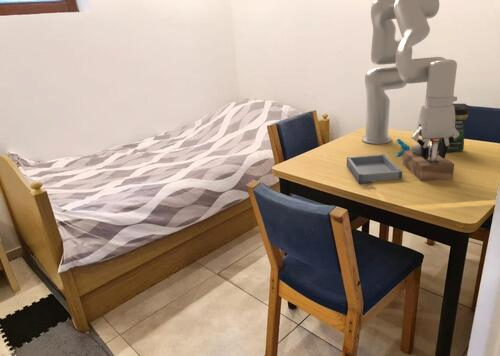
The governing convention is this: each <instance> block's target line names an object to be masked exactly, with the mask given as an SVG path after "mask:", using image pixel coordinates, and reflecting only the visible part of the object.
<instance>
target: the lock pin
mask: <svg viewBox="0 0 500 356" xmlns="http://www.w3.org/2000/svg"><path fill="white" fill-rule="evenodd" d="M439 141H440V138H434V139H430V140H429V142H430V144H429V146H430V152H429V163H437V154H438V153H439V151H438V145H439Z"/></svg>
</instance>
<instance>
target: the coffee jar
mask: <svg viewBox="0 0 500 356" xmlns="http://www.w3.org/2000/svg"><path fill="white" fill-rule="evenodd" d="M452 105H454V109H455V128H456V130H457V131H458V132H459V134H460V135H459V136H458V137H456V138H455V139H454V140H453V141H452V142H451V143H450V144H449V146H447V153H446V154H449V153H450V154H451V153H462V152H463V151H464V148H465V147H464V146H465V127H466V126H465V124H466V121H467V119H468V118H469V105H468V104H467V103H453V104H452ZM441 143H442V142H441V138H440V141H439V145H440V144H441ZM439 145H438V152H439Z"/></svg>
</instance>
